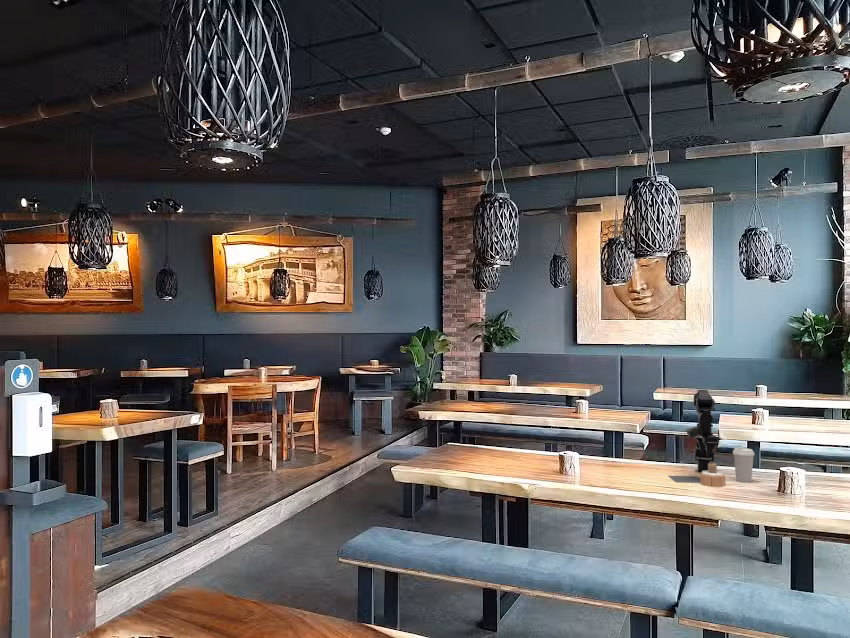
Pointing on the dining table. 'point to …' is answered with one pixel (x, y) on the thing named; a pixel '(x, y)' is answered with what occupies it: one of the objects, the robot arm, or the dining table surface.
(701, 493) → the dining table surface
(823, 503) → the dining table surface
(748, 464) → the coffee cup
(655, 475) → the dining table surface
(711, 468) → the lid
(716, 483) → the bowl
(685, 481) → the trivet
